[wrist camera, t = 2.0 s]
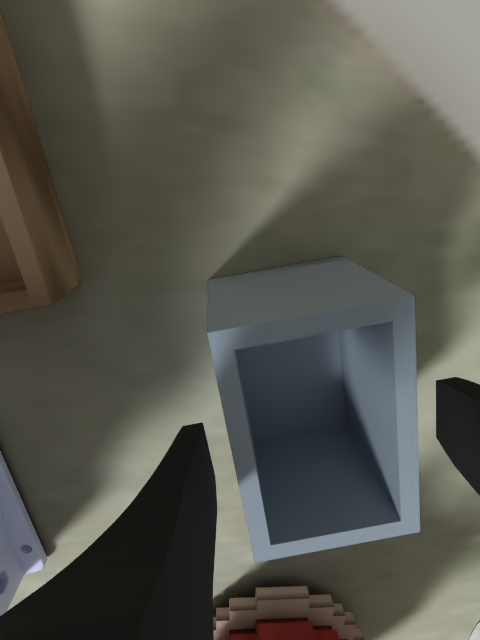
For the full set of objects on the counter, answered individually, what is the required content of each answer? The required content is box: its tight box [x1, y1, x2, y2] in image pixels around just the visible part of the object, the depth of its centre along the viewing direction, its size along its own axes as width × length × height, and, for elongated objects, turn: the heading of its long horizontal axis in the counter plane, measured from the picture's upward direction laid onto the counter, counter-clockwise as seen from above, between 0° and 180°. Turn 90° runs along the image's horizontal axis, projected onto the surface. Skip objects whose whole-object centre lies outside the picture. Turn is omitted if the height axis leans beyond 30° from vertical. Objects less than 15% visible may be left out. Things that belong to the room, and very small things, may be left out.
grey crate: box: [207, 256, 420, 563], centre depth 14 cm, size 8×5×6 cm
